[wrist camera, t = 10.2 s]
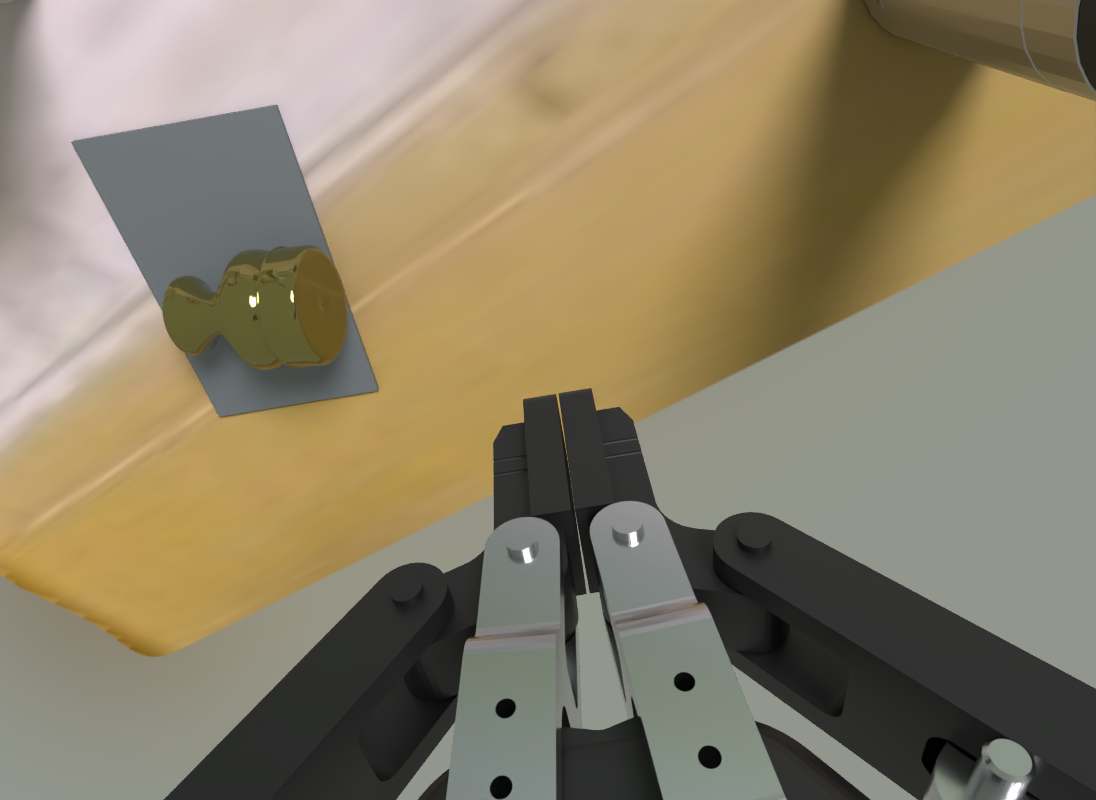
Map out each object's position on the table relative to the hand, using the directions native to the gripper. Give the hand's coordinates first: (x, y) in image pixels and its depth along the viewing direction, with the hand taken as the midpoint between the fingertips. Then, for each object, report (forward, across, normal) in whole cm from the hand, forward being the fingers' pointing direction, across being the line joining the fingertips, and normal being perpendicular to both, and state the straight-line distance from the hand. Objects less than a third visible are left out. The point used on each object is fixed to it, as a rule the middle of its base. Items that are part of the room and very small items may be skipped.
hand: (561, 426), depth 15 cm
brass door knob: (+26, +13, +9) cm, 31 cm away
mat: (+31, +20, +8) cm, 37 cm away
